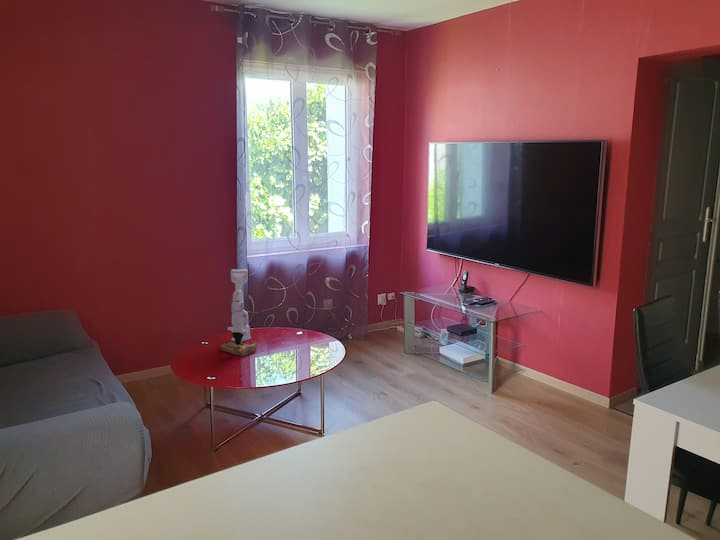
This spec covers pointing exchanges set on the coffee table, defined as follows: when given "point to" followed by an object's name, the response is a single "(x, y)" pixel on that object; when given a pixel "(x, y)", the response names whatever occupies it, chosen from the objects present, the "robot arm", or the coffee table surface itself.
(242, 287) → the robot arm
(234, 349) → the board
